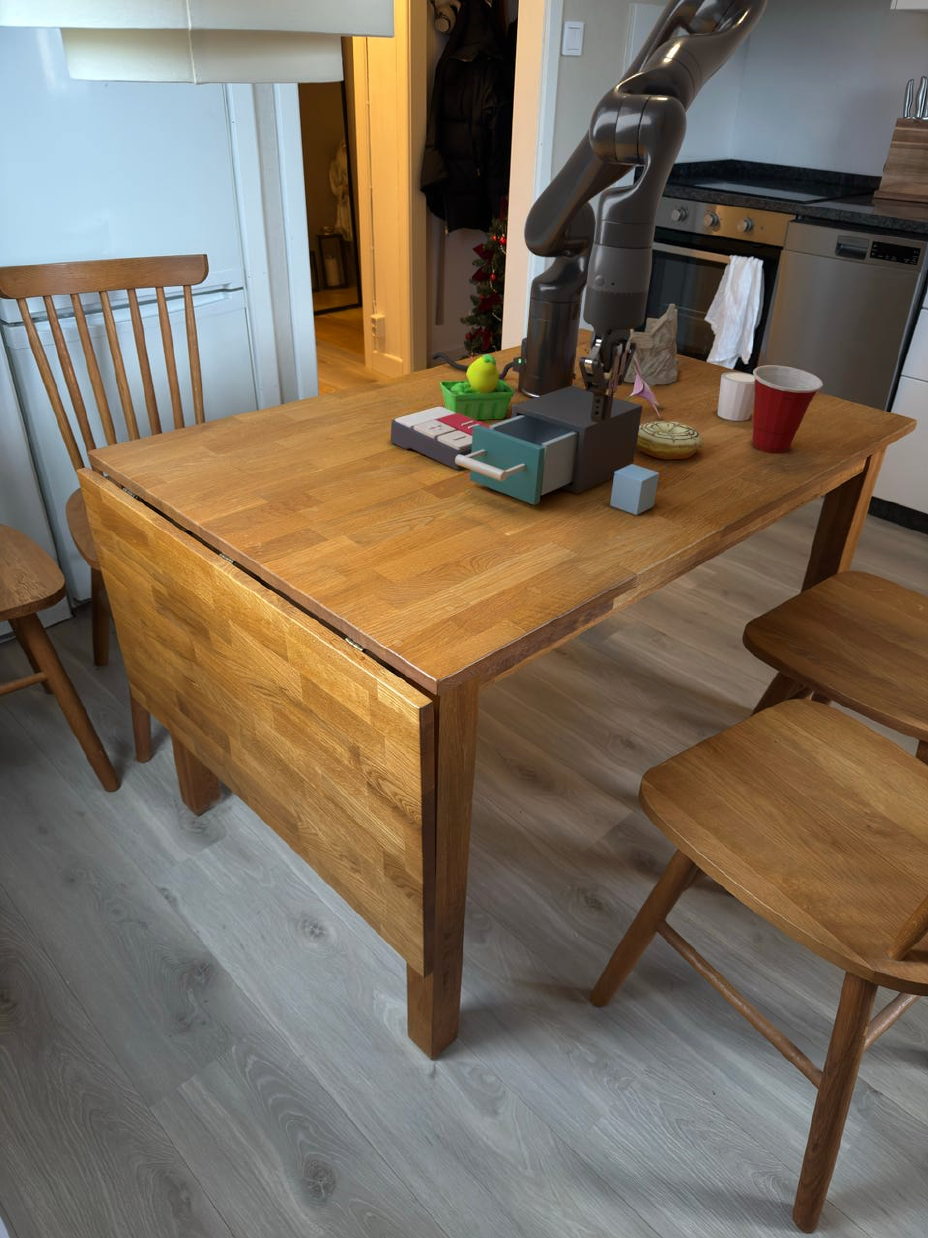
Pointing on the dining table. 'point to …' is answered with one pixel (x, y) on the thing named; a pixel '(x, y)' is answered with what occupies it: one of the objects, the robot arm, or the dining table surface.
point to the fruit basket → (479, 392)
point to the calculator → (436, 434)
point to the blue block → (634, 489)
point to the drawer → (522, 457)
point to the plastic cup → (780, 405)
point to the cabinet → (589, 432)
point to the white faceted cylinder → (736, 396)
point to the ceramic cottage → (656, 350)
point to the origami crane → (643, 389)
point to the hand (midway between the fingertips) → (600, 421)
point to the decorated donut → (668, 440)
